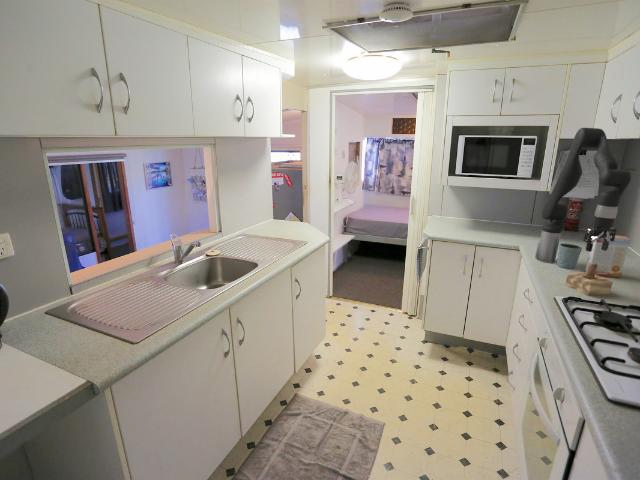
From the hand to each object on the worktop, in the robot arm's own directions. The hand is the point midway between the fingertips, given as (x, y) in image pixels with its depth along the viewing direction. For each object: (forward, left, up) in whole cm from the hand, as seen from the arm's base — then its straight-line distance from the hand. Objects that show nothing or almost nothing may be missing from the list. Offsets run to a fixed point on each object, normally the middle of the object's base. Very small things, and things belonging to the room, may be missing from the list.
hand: (596, 250), depth 163 cm
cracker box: (-15, +26, -19) cm, 36 cm away
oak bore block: (0, 0, -19) cm, 19 cm away
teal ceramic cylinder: (-28, +17, -19) cm, 38 cm away
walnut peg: (0, 0, -17) cm, 17 cm away
